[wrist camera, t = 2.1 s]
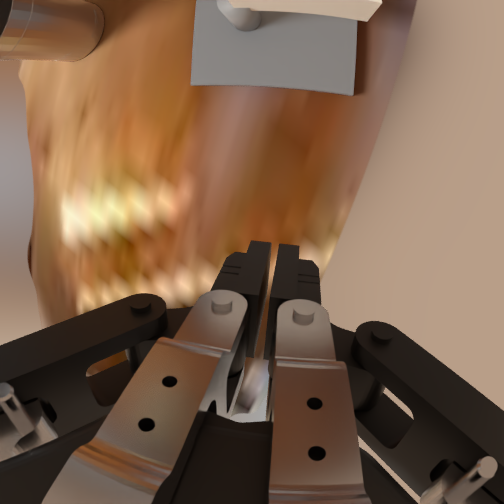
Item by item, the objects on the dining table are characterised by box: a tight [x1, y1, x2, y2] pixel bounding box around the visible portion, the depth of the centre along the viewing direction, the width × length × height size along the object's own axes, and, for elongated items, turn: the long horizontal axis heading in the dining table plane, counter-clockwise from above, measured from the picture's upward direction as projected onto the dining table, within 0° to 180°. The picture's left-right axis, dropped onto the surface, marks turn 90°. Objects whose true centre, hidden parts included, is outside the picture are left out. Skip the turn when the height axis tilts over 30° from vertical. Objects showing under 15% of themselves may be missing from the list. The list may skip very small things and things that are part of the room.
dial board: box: [191, 0, 357, 96], centre depth 28 cm, size 18×18×2 cm
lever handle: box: [217, 0, 382, 32], centre depth 22 cm, size 14×3×12 cm, turn 87°
